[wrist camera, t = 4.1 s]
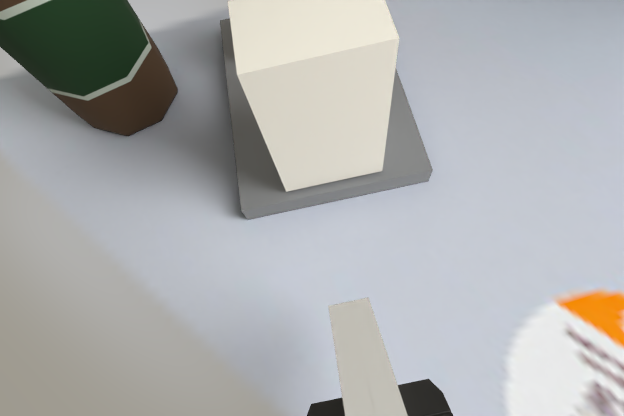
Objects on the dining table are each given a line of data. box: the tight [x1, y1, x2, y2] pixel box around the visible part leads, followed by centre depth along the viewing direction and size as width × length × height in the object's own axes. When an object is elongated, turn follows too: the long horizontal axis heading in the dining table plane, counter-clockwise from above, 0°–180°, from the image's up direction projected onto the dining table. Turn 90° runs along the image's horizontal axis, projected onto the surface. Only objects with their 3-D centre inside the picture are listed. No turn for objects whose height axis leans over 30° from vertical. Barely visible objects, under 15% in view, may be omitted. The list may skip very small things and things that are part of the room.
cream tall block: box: [228, 0, 399, 192], centre depth 19 cm, size 6×4×10 cm, turn 101°
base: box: [220, 19, 432, 220], centre depth 27 cm, size 12×17×2 cm
